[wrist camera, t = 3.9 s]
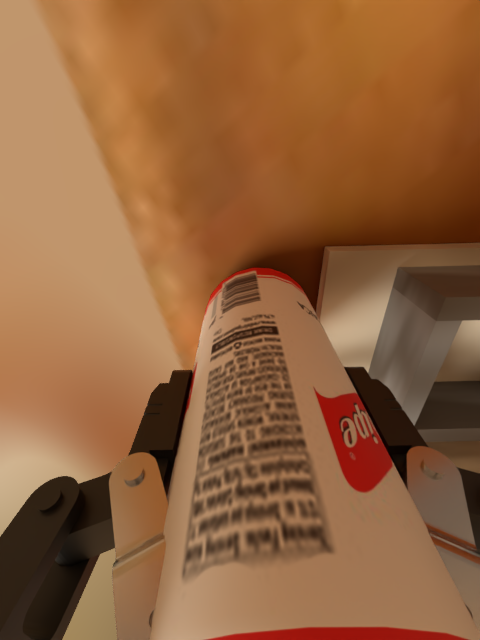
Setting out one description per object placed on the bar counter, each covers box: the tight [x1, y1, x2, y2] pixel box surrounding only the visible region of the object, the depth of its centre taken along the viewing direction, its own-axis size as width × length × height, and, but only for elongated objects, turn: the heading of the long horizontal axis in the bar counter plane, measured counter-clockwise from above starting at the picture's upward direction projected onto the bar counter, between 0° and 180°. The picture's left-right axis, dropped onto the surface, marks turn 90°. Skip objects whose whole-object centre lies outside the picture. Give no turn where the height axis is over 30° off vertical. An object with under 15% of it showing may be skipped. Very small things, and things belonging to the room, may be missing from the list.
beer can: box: [150, 268, 480, 640], centre depth 10 cm, size 6×6×16 cm
